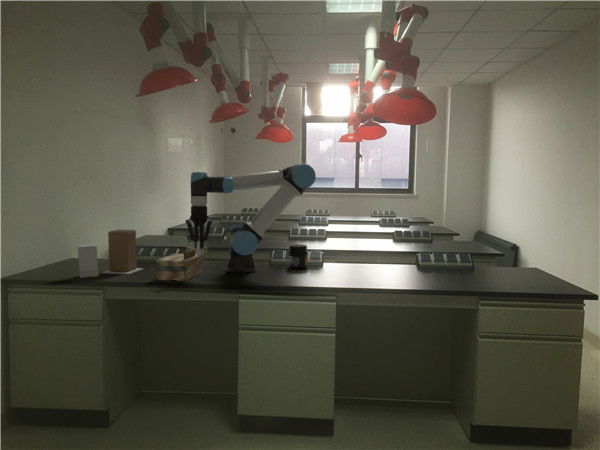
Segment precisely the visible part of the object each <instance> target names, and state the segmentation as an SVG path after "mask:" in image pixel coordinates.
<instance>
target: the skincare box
mask: <svg viewBox="0 0 600 450" xmlns="http://www.w3.org/2000/svg"><path fill="white" fill-rule="evenodd" d="M97 246H98V245H97V244H96V243H92V244H91V243H90V244H82V245H79V244H77V255H78V256H77V259H78V272H79V273H78V274H79V278H80V279H81V278H83V279H84V278H92V277H99V264H98V263H99V262H98V261H99V260H98V247H97Z"/></svg>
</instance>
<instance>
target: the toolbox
mask: <svg viewBox="0 0 600 450" xmlns="http://www.w3.org/2000/svg"><path fill="white" fill-rule="evenodd" d="M203 267H204V259H203V257H201V258H199V259H196V260H194V261H191V262H189V263H187V264H186V263H161V262H156V277H157V278H156V279H157V281H170V280H177V281H176V282H188V281H190V280H192V279H194V278H195V276H196V277H197V276H199V275H201V274H203V271H204V270H203ZM193 277H194V278H193ZM191 278H192V279H191ZM189 279H190V280H189ZM187 280H188V281H187Z"/></svg>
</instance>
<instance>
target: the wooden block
mask: <svg viewBox="0 0 600 450" xmlns="http://www.w3.org/2000/svg"><path fill="white" fill-rule="evenodd" d="M107 235H108V236H107V237H108V266H109V267H108V269H109V270H110V271H112V272H128V271H131V270H133V269H136V268H138V267H137V231H136V230H135V229H115V230H110V231H108V233H107Z"/></svg>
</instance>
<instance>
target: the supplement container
mask: <svg viewBox="0 0 600 450" xmlns="http://www.w3.org/2000/svg"><path fill="white" fill-rule="evenodd" d="M308 254H309V252H308V245H305V244H290V245H289V246H288V252H287V267H288V269H289V270H294V271H295V270H299V271H300V270H306V269H308V266H309V265H308V262H309V261H308Z"/></svg>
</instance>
